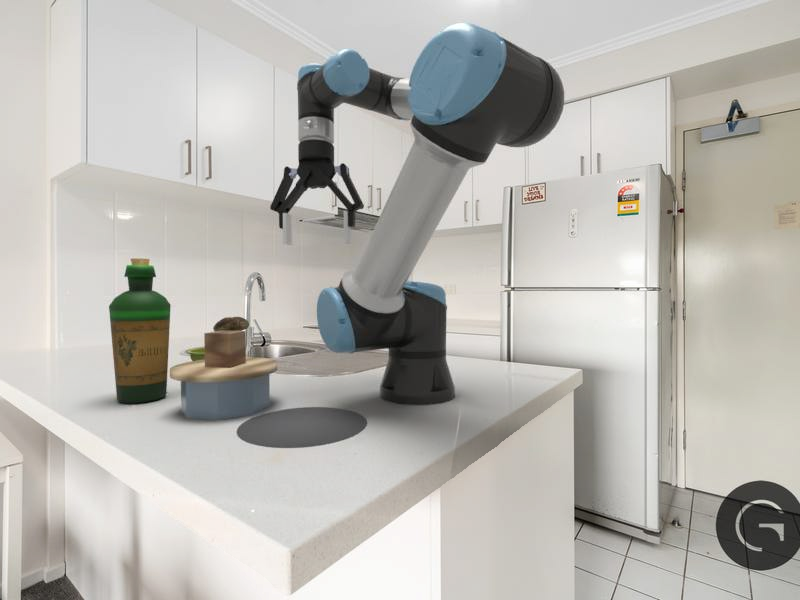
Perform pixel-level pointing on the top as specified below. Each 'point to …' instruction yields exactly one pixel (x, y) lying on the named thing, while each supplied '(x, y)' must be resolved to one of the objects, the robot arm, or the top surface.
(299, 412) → the mat
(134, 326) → the bottle
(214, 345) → the lid
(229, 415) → the bowl
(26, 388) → the top surface
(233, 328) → the mushroom
